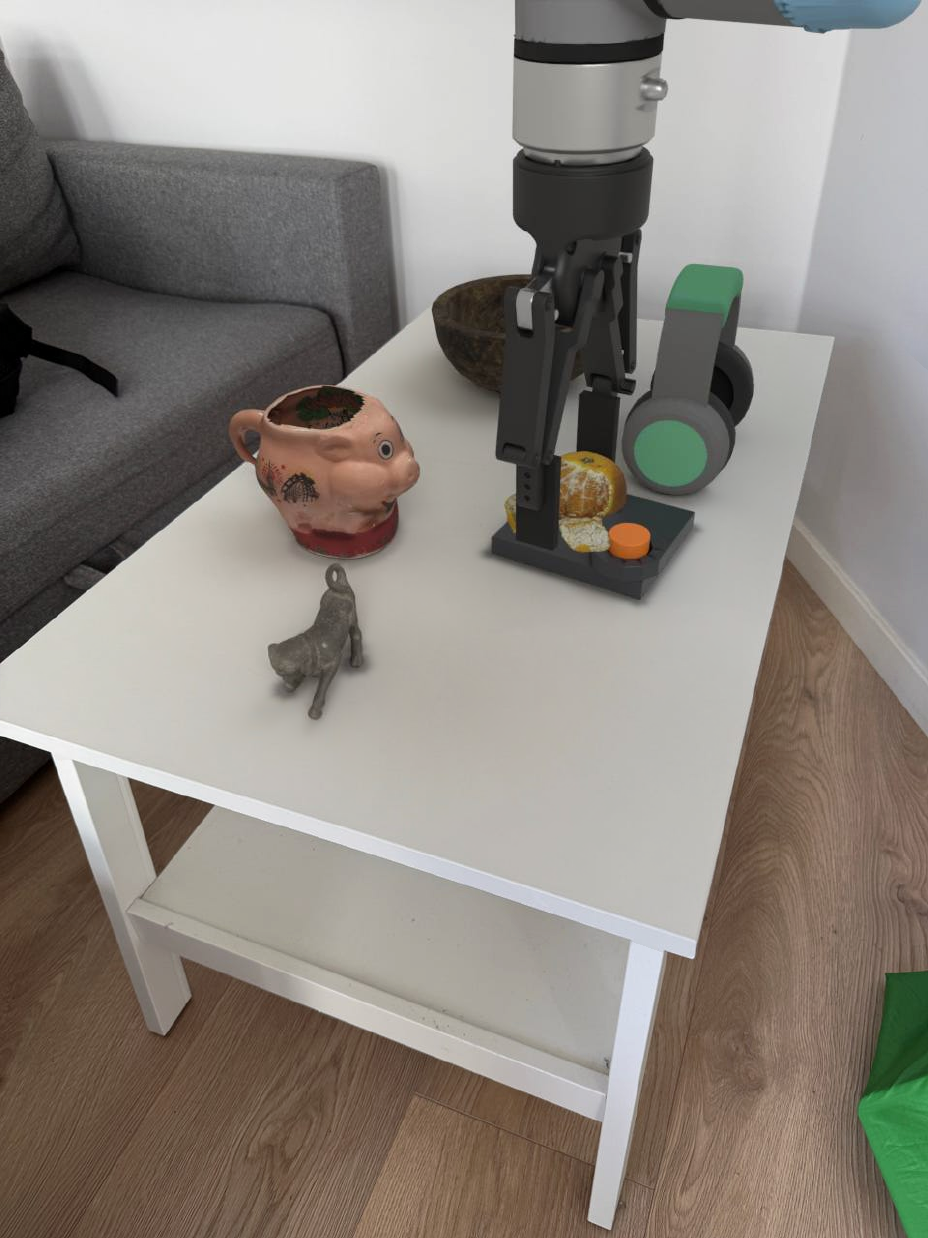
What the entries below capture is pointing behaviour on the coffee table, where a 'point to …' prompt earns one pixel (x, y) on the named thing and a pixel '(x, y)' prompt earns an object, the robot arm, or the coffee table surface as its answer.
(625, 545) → the button
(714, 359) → the grey headset
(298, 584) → the coffee table surface
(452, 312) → the bowl
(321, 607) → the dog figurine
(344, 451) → the decorative planter
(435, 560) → the coffee table surface
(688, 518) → the scale
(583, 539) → the fruit
